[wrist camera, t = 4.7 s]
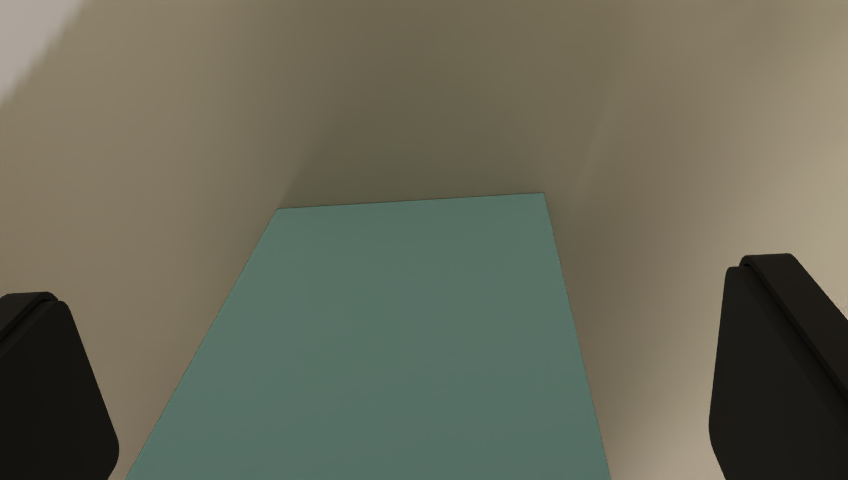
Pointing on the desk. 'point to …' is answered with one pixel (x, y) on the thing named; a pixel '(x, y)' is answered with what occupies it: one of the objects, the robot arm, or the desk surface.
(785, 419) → the robot arm
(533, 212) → the tile
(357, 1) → the desk surface
